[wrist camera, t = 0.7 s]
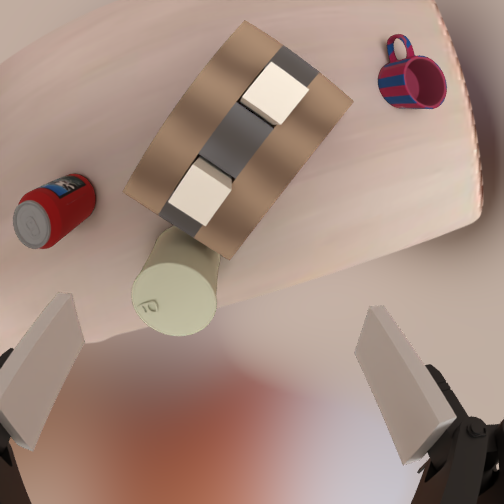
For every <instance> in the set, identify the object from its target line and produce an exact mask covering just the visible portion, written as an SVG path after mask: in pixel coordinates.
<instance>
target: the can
mask: <svg viewBox="0 0 504 504" xmlns="http://www.w3.org/2000/svg"><path fill="white" fill-rule="evenodd" d="M219 263H220V254H218V253H217V252H215V251H214V250H212V249H210V248H209V247H207V246H206V245H204V244H203V243H201V242H199V241H198V240H196V239H195V238H193V237H191V236H190V235H188V234H187V233H185V232H184V231H182V230H181V229H179V228H177V227H176V226H173V227H170V228H168V229H167V230H165V231H164V232H163V233H162V234H161V235H160V236H159V237H158V239H157V241H156V243H155V246H154V249H153V251H152V252H151V254H150V256H149V258H148V260H147V261H146V263H145V265H144V267H143V269H142V270H141V272H140V274H139V275H138V276H137V278H136V279H135V281H134V284H133V287H132V293H131V297H132V303H133V306H134V309H135V311H136V313H137V314H138V316H139V317H140V318H141V320H142V321H143V322H144V323H145V324H147V325H148V326H149V327H151V328H152V329H154V330H156V331H158V332H160V333H163V334H167V335H171V336H185V335H191V334H194V333H196V332H199V331H201V330H202V329H204V328H205V327H206V326H207V325H208V324H209V323H210V322H211V320H212V319H213V317H214V315H215V312H216V307H217V300H216V290H217V275H218V267H219Z"/></svg>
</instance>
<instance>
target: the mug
mask: <svg viewBox="0 0 504 504" xmlns="http://www.w3.org/2000/svg"><path fill="white" fill-rule="evenodd" d="M396 38H398V39H400V40H402V42H403V43H404V45H405V48H406V52H407V57H406V58H405V59H402V60H397V58H396V56H395V53H394V45H393V44H394V41H395V39H396ZM387 50H388V55H389V59H390V63H388V64H386V65H385V66H384V67H383V68H382V69H381V71H380V73H379V76H378V85H379V89H380V92H381V94H382V96H383V97H384V99H385V100H386V101H387V102H388V103H389V104H391V105H392V106H394V107H397V108H412V109H434V108H437V107H439V106H440V105H441V104H442V103H443V101H444V99H445V97H446V92H447V85H446V80H445V77H444V74H443V72H442V70H441V69H440V67H439V66H438V65H437V64H436V63H435V62H434V61H433V60H431V59H430V58H428V57H425V56H415V55H414V51H413V48H412V45H411V43H410V41H409V40H408V38H407V37H406V36H404V35H402V34H395V35H393V36H391V37H390V38H389V39H388V41H387Z"/></svg>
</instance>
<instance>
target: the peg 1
mask: <svg viewBox="0 0 504 504" xmlns="http://www.w3.org/2000/svg"><path fill="white" fill-rule="evenodd" d="M231 190H232V176H230V175H229V174H228V173H226V172H225V171H223V170H222V169H220V168H219V167H217V166H216V165H214V164H213V163H211V162H210V161H208V160H207V159H205V158H204V157H202V156H200V157H199V158H198V159H197V160H196V161H195V162H194V163H193V165H192V166H191V168H190V169H189V171H188V172H187V174H186V175H185V177H184V178H183V180H182V181H181V183H180V184H179V186H178V187H177V189H176V190H175V192H174V193H173V195H172V196H171V198H170V200H169V201H168V202H169V203H170V204H172V205H173V206H175V207H176V208H178V209H179V210H181V211H183V212H184V213H186V214H187V215H189V216H190V217H192V218H193V219H195V220H196V221H198V222H200V223H201V224H203V225H204V226H206V225H207V224H208V222H209V221H210V219H211V218H212V217H213V215H214V214H215V212H216V211H217V210H218V208H219V207H220V205H221V204H222V203H223V201H224V200H225V198H226V197H227V196H228V194H229V193H230V192H231Z"/></svg>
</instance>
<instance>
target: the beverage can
mask: <svg viewBox="0 0 504 504" xmlns="http://www.w3.org/2000/svg"><path fill="white" fill-rule="evenodd" d="M94 206H95V192H94V189H93V187H92V185H91V183H90V182H89V181H88V180H87V179H86V178H85V177H83V176H81V175H78V174H69V175H67V176H64V177H61V178H59V179H57V180H54V181H52V182H49V183H47V184H45V185H43V186H41V187H38V188H36V189H34V190H32V191H30V192H28V193H27V194H25V195H24V196H23V197H22V199H21V200H20V202H19V204H18V206H17V208H16V209H15V212H14V216H13V225H14V230H15V232H16V235H17V237H18V238H19V240H20V241H21V242H22V243H23V244H24V245H25V246H27V247H29V248H32V249H38V248H40V249H46V248H50V247H52V246H53V245H54V244H56V243H57V242H58V241H59V240H61V239H62V238H63V237H64V236H66V235H67V234H68V233H69V232H70V231H72V230H73V229H74V228H75V227H77V226H78V225H79V224H80V223H82V222H83V221H84V220H85V219H86V218H88V217H89V216H90V215H91V213H92V211H93V209H94Z"/></svg>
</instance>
